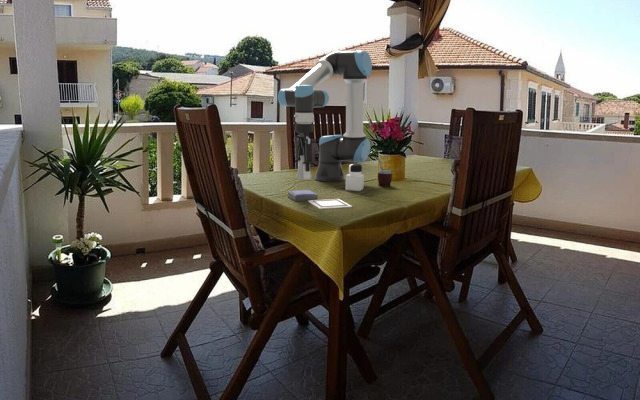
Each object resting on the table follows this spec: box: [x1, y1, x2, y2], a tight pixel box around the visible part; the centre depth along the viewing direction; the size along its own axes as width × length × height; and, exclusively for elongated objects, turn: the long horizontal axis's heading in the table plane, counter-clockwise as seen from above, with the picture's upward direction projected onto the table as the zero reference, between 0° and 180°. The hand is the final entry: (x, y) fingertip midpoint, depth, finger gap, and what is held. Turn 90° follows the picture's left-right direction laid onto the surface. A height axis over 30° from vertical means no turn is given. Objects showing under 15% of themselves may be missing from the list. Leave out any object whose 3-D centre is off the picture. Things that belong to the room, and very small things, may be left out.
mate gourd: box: [375, 156, 393, 188], centre depth 242 cm, size 8×8×15 cm
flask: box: [294, 155, 314, 181], centre depth 208 cm, size 7×7×10 cm
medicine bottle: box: [344, 163, 365, 192], centre depth 232 cm, size 7×7×12 cm
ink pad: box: [287, 189, 319, 202], centre depth 211 cm, size 10×10×2 cm
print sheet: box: [307, 198, 353, 210], centre depth 200 cm, size 14×14×1 cm
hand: (303, 177), depth 209 cm, fingers closed on flask, 7 cm apart
